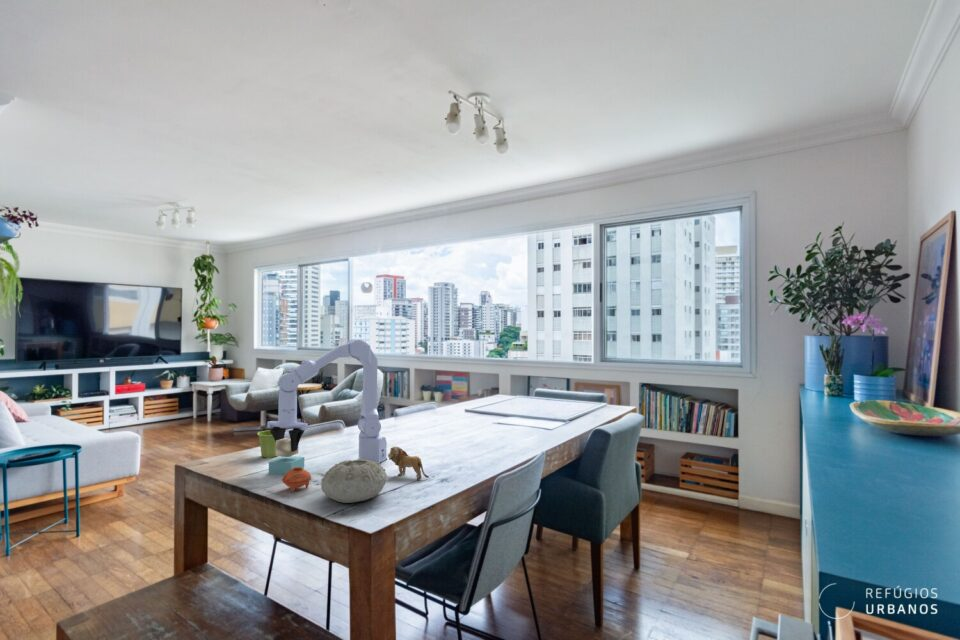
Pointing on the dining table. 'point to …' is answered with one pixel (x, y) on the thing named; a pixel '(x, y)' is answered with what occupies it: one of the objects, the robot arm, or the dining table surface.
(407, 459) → the lion figurine
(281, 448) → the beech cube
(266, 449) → the plant pot
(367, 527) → the dining table surface
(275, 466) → the teal base block
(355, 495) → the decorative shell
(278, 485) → the dining table surface
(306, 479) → the pot
